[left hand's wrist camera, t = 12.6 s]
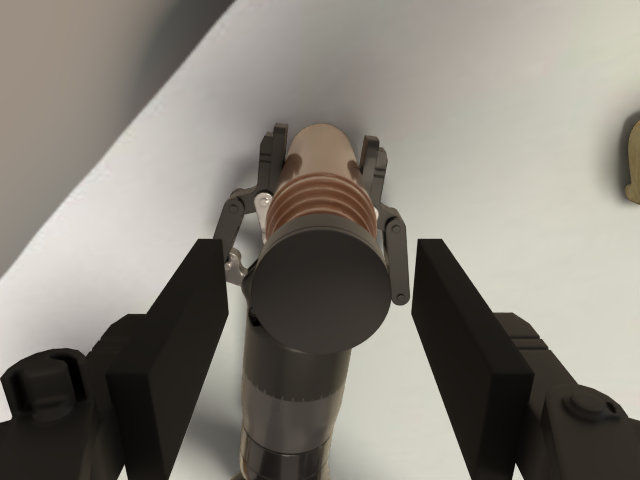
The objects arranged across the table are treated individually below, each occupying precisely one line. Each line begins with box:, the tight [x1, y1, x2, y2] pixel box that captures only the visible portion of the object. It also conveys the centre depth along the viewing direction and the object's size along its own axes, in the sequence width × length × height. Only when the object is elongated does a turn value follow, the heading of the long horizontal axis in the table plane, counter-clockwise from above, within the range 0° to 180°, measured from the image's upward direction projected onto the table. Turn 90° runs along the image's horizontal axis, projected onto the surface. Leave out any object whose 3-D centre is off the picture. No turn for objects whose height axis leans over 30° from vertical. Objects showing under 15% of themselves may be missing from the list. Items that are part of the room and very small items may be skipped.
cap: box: [251, 214, 392, 354], centre depth 14 cm, size 4×4×2 cm
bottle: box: [265, 124, 377, 241], centre depth 23 cm, size 5×5×21 cm
